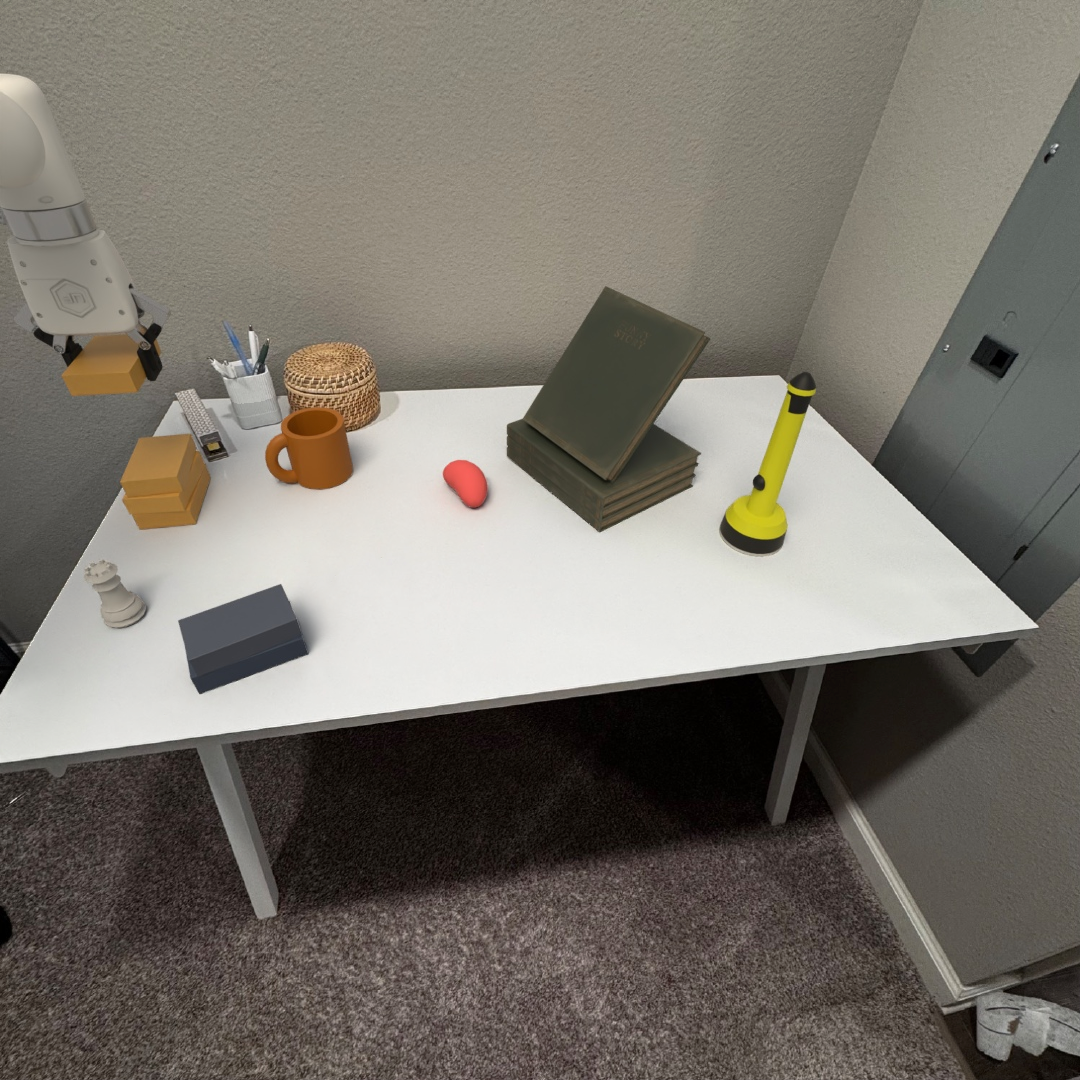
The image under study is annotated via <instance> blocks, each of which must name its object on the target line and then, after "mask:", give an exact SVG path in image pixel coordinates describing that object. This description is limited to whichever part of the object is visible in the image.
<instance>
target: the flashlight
mask: <svg viewBox="0 0 1080 1080" xmlns="http://www.w3.org/2000/svg"><path fill="white" fill-rule="evenodd" d="M816 384H817V383H816V381H815V379H814V376H813V375H812V374H811V373H810V372H808V371H802V372H800V373H798V374H797V375H795V376H794V377H792V378H791V379H790V380H789V381H788V383H787V385H786V389H787V390H786V393H785V395H784V399H783V402H782V405H781V408H780V410H779V413H778V416H777V418H776V422H775V425H774V427H773V430H772V432H771V436H770V439H769V442H768V444H767V448H766V450H765V453H764V455H763V459H762V462H761V464H760V467H759V470H758V472H757V474H756V475H755V476H754V477H753V479H752V486H753V487H752V490H751V493H750V494H747V495H742V496H740V497H738V498H737V499H736V500H734V501H733V502H732V503H731V504H730V505H729V506H728V507H727V508H726V510H725V512H724V515H723V517H722V520H721V522H720V525H719V528H718V533H719V536H720V538H721V539H722V541H723V542H724V543H725V544H726V545H727V546H728V547H730V549H732V550H735V551H737V552H739V553H741V554H744V555H747V556H752V557H769V556H771V555H774V554H777V553H778V552H779V551H780V550H781V549H782V547H783V546H784V542H785V539H786V535H787V531H788V525H789V524H788V520H787V516H786V511H785V509H784V507H783V506H782V505H780V503H778V499H779V496H780V493H781V490H782V487H783V484H784V480H785V478H786V475H787V472H788V469H789V466H790V464H791V459H792V457H793V454H794V451H795V448H796V444H797V441H798V439H799V436H800V432H801V430H802V427H803V424H804V421H805V417H806V415H807V411H808V410H809V409H808V408H809V406H810V403H811V400H812V398H813V396H814V395H815V394H816V392H817V391H816V390H817V385H816Z"/></svg>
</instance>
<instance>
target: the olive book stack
mask: <svg viewBox="0 0 1080 1080" xmlns="http://www.w3.org/2000/svg"><path fill="white" fill-rule="evenodd" d="M705 334H706V332H705V331H704V330H702V329H699V328H698V327H696V326H693V325H691V324H689V323H687V322H685V321H682V320H681V319H678V318H676V317H674V316H672V315H669V314H667V313H665V312H663V311H661V310H659V309H656V308H654V307H652V306H650V305H649V304H646V303H643V302H641V301H639V300H637V299H635V298H634V297H633V298H632V297H630V296H628V295H627V294H624V293H622V292H620V291H617V290H615V289H613V288H611V287H609V286H606V285H605V286H604V288H603V289H602V291H601V292H600V294H599V296H598V297H597V299H596V300H595V302H594V304H593V305H592V307H590V310H589V311H588V313H587V315H586V316H585V318H584V320H583V321H582V323H581V324H580V326H579V327H578V329H577V330H576V333H575V334H574V335H573V337H572V339H571V340H570V342H569V343H568V345H567V347H566V348H565V350H564V351H563V353H562V355H561V357H560V358H559V359H558V361H557V362H556V365H555V366H554V367H553V369H552V371H551V372H550V374H549V375H548V377H547V379H546V380H545V382H544V383H543V385H542V387H541V388H540V390H539V391H538V393H537V395H536V396H535V398H534V400H533V402H532V403H531V404H530V406H529V407H528V409H527V411H526V412H525V414H524V416H523V417H522V418H520V419H517V420H515V421H512V422H509V423H507V425H506V457H507V458H508V459H509V460H511V461H512V462H513V463H514V464H516V465H517V466H518V467H519V468H521V469H522V470H523V471H524V472H525V473H526V474H528V475H529V476H530V477H531V478H533V479H534V480H535V481H536V482H537V483H539V484H541V486H543V487H544V488H545V489H546V490H547V491H549V492H550V493H551V494H552V495H554V496H555V497H556V498H557V499H558V500H560V501H561V502H563V504H564V505H566V506H567V507H568V508H570V509H571V510H572V511H573V512H575V513H576V514H577V515H579V517H581V518H582V520H584V521H585V522H587V523H588V524H589V525H590V526H591V527H593V528H594V529H595V530H597V531H598V532H599V533H601V532H604V531H605V530H608V529H610V528H611V527H613V526H616V525H618V524H620V523H622V522H623V521H625V520H628V519H630V518H632V517H634V516H636V515H638V514H640V513H642V512H644V511H646V510H648V509H650V508H653V507H654V506H656V505H658V504H660V503H663V502H665V501H667V500H668V499H670V498H673V497H674V496H676V495H678V494H680V493H683V492H685V491H687V490H689V489H691V488H693V487H694V485H693V484H692V483H693V479H695V478H696V476H697V474H696V473H695V470H696V468H697V467H699V462H698V458H699V456H701V455H702V453H701V451H698V450H697V449H695V448H694V447H692V446H690V445H689V444H687V443H685V442H684V441H682V440H680V439H679V438H678V437H676V436H675V435H672V434H671V433H670V432H668V431H666V430H664V429H663V428H661V427H660V426H658V425H656V424H655V423H656V421H657V419H658V418H659V416H660V415H661V413H662V412H663V410H664V409H665V408H666V406H667V404H668V403H669V401H670V400H671V398H672V397H673V396H674V394H675V393H676V391H677V390H678V388H679V387H680V385H681V384H682V383H683V380H684V379H685V378H686V376H687V375H688V374H689V372H690V370H691V369H692V368H693V366H694V364H695V363H696V362H697V360H698V358H700V356H701V354H702V353H703V351H704V350H705V348H706V346H707V345H708V344H709V342H710V341H711V337H709V336H707V335H705Z"/></svg>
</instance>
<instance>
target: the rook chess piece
mask: <svg viewBox="0 0 1080 1080" xmlns="http://www.w3.org/2000/svg"><path fill="white" fill-rule="evenodd" d="M88 565H89V566H85V567H84V576H83V578H84V582H86V583H87V584H89V585H90V584H91V586H92V590H94V591H95V592H96V593H97V594H98V596H99V599H100V601H101V604H100V617H101V618H102V619H103V623H104V624H105V625H106V626H108V627H112V628H116V629H121V628H127V627H130V626H132V625H134V624H136V623H138V622H139V621H140V620H141V619H142V618H143V616H144V615H145V612H146V609H147V606H146V603H145V602H144V601H143V599H142V597H140V596H139V595H137V593H133V592H132V591H129V590H128V589H127V588H126V587H125V585H124V584H123V583H122V578H121V576H120V575H119V574H118V566H117V565H116V564H115V563H112V562H111V561H110V560H108V559H106V560H105V559H104V558H101V559H98V562H97V563H96V562H95V561H94V560H92V561H91V562H89V563H88Z"/></svg>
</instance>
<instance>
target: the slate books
mask: <svg viewBox="0 0 1080 1080" xmlns="http://www.w3.org/2000/svg"><path fill="white" fill-rule="evenodd" d="M177 622H178V625H179V629H180V634H181V637H182V641H183V644H184V651H185V656H186V661H187V666H188V672H189V678H190V681H191V682H192V685H194V688H195V689H196V691H197V693H198V695H201V694H204V693H208V692H209V691H212V690H215V689H217V688H220V687H223V686H226V685H229V684H231V683H234V682H237V681H239V680H243V679H245V678H247V677H250V676H252V675H253V676H254V675H255V674H259V673H261V672H264V671H267V670H269V669H272V668H274V667H278V666H281V665H283V664H285V663H288V662H291V661H294V660H297V659H299V658H302V657H304V656H307V655H309V651H308V649H307V646H306V643H305V640H304V637H303V632H302V629H301V627H300V623H299V620H298V618H297V615H296V614H295V611H294V609H293V606H292V603H291V601H290V600H289V598H288V595H287V594H286V590H285V589H284V586H283V584H282V583H279V584H276V585H274V586H270V587H268V588H265V589H262V590H260V591H256V592H254V593H251V594H248V595H245V596H242V597H240V598H237V599H234V600H231V601H229V602H225V603H222V604H220V605H217V606H214V607H211V608H209V609H206V610H203V611H200V612H197V613H194V614H192V615H190V616H186V617H185V618H184V617H183V618H180V619H178V620H177Z"/></svg>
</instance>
